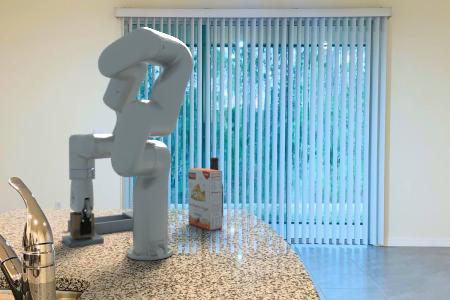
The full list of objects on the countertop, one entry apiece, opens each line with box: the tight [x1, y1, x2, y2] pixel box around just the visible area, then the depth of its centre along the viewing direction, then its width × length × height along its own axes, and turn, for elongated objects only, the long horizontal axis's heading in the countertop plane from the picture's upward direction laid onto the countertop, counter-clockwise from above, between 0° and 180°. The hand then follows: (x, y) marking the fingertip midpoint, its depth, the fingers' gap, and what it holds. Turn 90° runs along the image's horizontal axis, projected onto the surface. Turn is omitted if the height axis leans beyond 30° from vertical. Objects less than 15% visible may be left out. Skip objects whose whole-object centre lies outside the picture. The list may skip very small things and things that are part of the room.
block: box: [69, 211, 95, 239], centre depth 120 cm, size 6×6×7 cm
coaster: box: [61, 232, 105, 248], centre depth 120 cm, size 10×10×1 cm
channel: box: [67, 210, 133, 235], centre depth 137 cm, size 11×25×4 cm, turn 125°
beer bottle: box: [209, 157, 224, 217], centre depth 161 cm, size 8×8×24 cm
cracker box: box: [187, 167, 223, 232], centre depth 141 cm, size 14×6×21 cm, turn 37°
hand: (82, 231), depth 120 cm, fingers closed on block, 6 cm apart
